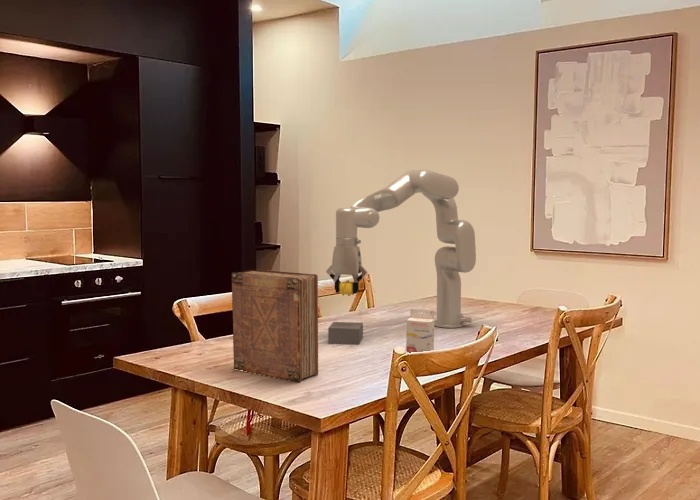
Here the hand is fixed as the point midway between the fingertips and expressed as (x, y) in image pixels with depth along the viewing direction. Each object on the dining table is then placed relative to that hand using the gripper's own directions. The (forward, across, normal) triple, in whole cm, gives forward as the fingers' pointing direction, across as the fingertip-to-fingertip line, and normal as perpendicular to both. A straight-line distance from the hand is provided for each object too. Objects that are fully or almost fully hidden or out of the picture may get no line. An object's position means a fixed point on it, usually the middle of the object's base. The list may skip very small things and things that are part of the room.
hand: (346, 292), depth 247 cm
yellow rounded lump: (+1, 0, 0) cm, 1 cm away
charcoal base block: (+18, 0, 0) cm, 18 cm away
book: (+18, +5, +47) cm, 51 cm away
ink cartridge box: (+18, -30, +10) cm, 36 cm away
